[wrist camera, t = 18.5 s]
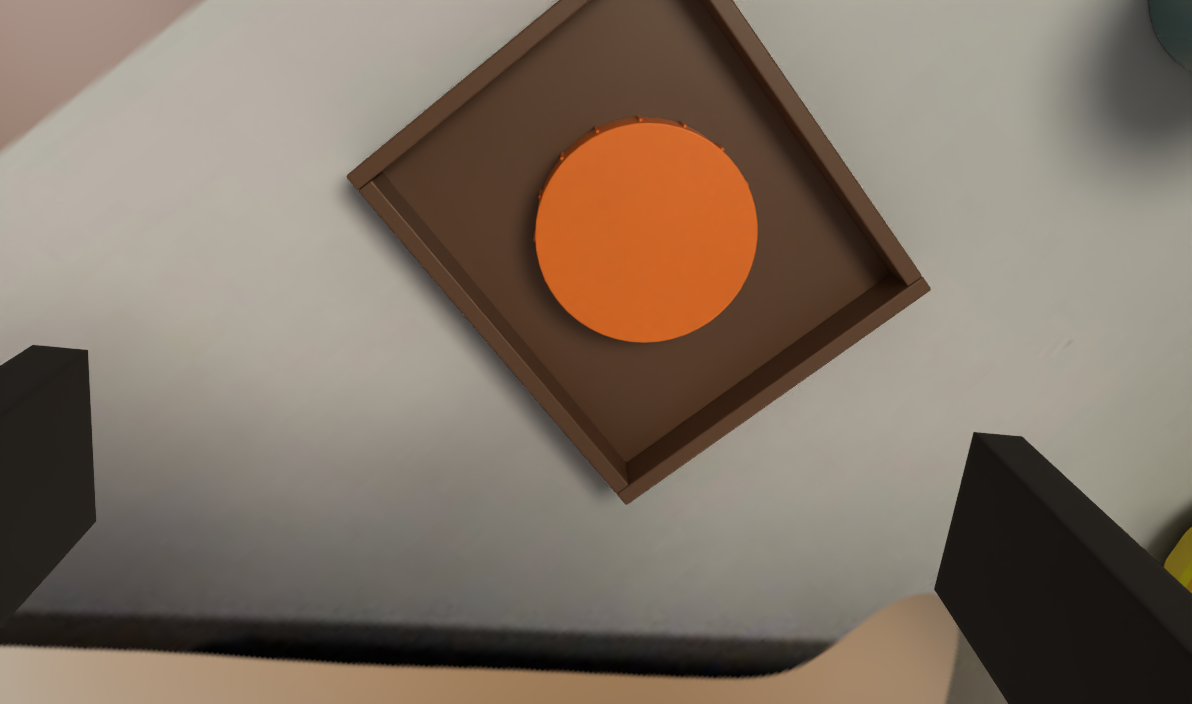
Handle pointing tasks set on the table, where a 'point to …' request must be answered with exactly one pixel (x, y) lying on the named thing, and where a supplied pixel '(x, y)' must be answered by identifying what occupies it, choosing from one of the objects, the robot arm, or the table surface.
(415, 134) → the tray
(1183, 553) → the mug
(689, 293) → the lid
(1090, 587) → the robot arm
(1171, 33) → the jar
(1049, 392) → the table surface
